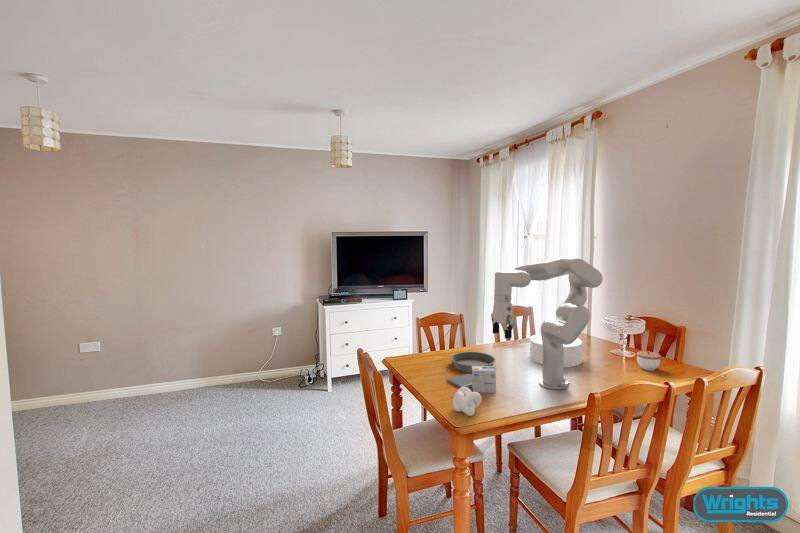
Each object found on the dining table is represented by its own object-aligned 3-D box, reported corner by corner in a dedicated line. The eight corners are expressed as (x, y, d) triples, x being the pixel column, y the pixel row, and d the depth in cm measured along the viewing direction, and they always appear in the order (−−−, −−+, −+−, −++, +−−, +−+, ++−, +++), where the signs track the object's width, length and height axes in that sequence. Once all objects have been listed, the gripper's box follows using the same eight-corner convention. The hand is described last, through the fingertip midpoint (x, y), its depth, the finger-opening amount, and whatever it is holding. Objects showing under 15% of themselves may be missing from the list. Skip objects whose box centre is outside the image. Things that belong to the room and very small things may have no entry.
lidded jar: (636, 363, 208) (636, 347, 208) (659, 367, 203) (660, 349, 202) (636, 370, 199) (636, 352, 199) (661, 373, 194) (661, 355, 193)
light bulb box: (494, 387, 181) (494, 365, 180) (496, 393, 174) (496, 370, 173) (471, 387, 182) (471, 365, 181) (472, 393, 175) (472, 370, 174)
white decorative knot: (476, 404, 164) (476, 383, 163) (486, 416, 152) (486, 395, 151) (450, 406, 162) (450, 386, 161) (459, 419, 150) (459, 397, 150)
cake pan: (480, 377, 195) (480, 368, 194) (442, 366, 212) (441, 359, 211) (503, 365, 212) (503, 357, 212) (466, 356, 229) (466, 348, 229)
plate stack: (549, 349, 240) (549, 331, 239) (592, 360, 216) (592, 340, 215) (519, 357, 224) (519, 338, 223) (562, 371, 201) (562, 349, 200)
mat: (484, 383, 186) (484, 380, 186) (462, 389, 179) (462, 386, 179) (468, 375, 197) (468, 373, 197) (447, 381, 190) (447, 378, 190)
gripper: (521, 301, 164) (520, 339, 165) (499, 295, 180) (498, 330, 182) (506, 301, 162) (505, 341, 163) (485, 296, 178) (484, 331, 179)
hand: (501, 335), depth 172 cm, fingers open, 9 cm apart
